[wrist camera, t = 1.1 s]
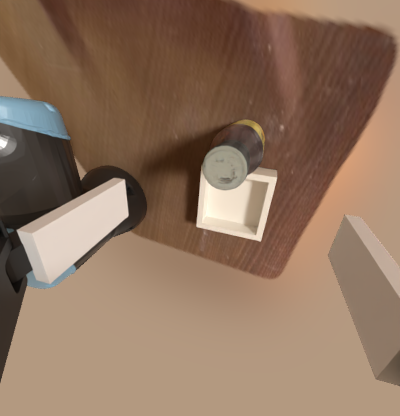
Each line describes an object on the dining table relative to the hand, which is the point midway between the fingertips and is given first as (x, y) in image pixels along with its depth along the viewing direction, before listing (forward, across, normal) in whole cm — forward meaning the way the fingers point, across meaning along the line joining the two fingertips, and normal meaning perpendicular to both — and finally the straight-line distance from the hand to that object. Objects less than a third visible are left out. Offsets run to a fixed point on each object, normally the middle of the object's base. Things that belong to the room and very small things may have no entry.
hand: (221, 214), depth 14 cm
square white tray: (+26, -1, -10) cm, 28 cm away
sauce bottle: (+26, -1, 0) cm, 27 cm away
